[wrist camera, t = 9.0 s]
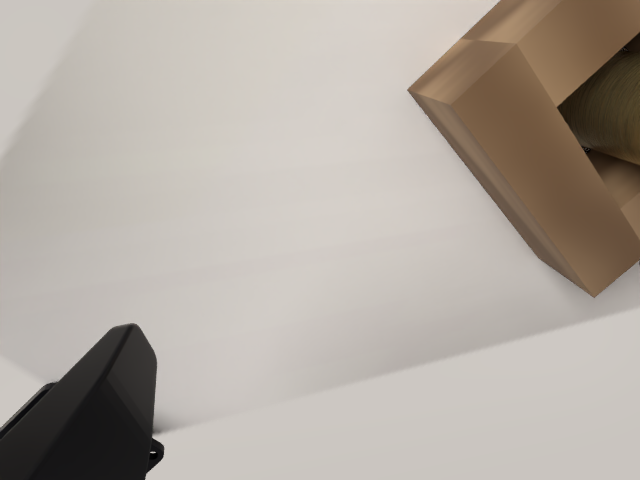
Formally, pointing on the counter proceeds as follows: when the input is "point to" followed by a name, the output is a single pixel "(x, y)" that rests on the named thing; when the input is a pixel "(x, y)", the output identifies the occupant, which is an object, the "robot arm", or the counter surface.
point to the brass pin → (608, 108)
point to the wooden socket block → (542, 129)
